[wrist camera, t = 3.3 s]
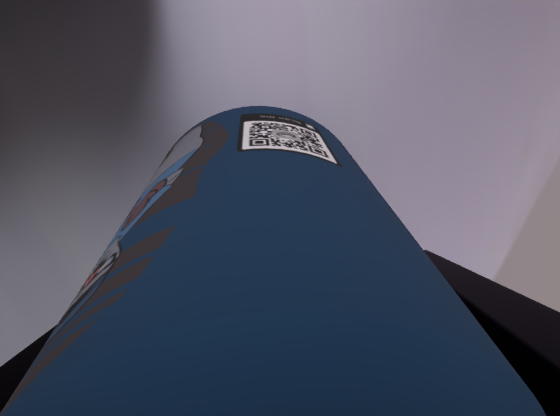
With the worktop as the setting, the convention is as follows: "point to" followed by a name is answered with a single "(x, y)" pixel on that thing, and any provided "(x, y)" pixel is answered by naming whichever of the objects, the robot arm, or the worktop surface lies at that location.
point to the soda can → (267, 296)
